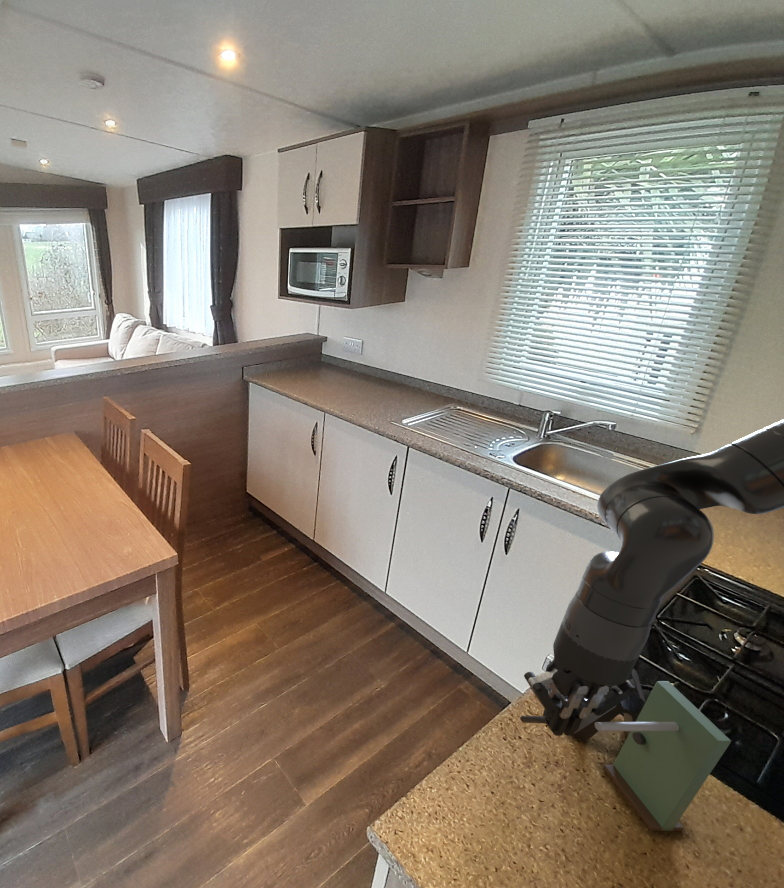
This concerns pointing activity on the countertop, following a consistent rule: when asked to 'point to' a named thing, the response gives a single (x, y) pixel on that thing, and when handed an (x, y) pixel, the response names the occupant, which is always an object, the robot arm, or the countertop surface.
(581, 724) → the phone stand
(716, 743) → the door panel
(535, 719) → the hanger
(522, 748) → the countertop surface
